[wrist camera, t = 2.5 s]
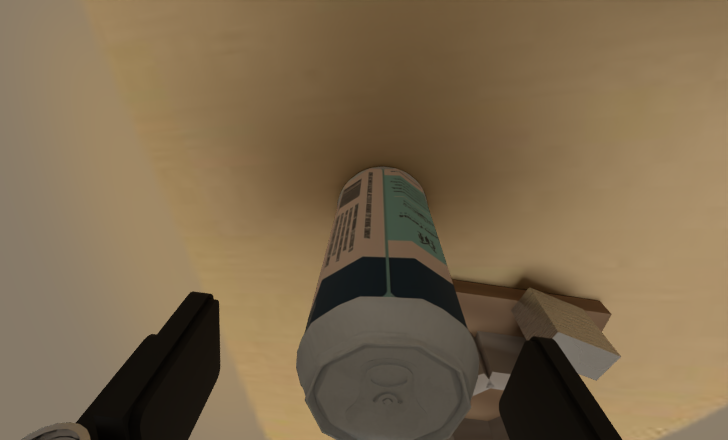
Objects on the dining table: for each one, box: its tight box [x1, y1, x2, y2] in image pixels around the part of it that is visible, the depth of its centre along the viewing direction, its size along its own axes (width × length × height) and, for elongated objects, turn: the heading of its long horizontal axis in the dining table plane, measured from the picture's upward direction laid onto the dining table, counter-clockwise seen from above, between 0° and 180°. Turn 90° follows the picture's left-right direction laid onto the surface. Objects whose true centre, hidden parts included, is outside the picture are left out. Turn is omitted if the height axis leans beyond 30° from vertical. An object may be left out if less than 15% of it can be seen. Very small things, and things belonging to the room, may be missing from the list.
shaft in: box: [511, 287, 621, 380], centre depth 19 cm, size 3×4×4 cm
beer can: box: [296, 167, 479, 440], centre depth 14 cm, size 5×5×12 cm
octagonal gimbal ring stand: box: [446, 280, 612, 440], centre depth 22 cm, size 14×11×4 cm
